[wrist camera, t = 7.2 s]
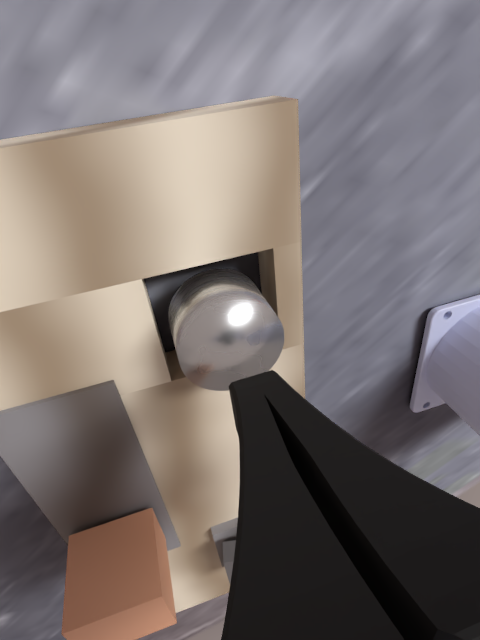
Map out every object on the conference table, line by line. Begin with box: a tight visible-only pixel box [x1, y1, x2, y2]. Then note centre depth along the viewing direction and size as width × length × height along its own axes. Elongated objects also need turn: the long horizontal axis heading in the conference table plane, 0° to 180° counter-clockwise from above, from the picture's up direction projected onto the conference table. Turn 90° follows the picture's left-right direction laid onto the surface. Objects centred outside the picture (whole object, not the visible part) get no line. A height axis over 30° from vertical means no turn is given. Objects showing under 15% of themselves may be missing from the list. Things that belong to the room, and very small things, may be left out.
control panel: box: [0, 96, 305, 613], centre depth 20 cm, size 13×30×2 cm, turn 7°
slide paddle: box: [62, 508, 177, 640], centre depth 18 cm, size 4×3×4 cm
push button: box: [168, 268, 284, 391], centre depth 14 cm, size 4×4×2 cm
